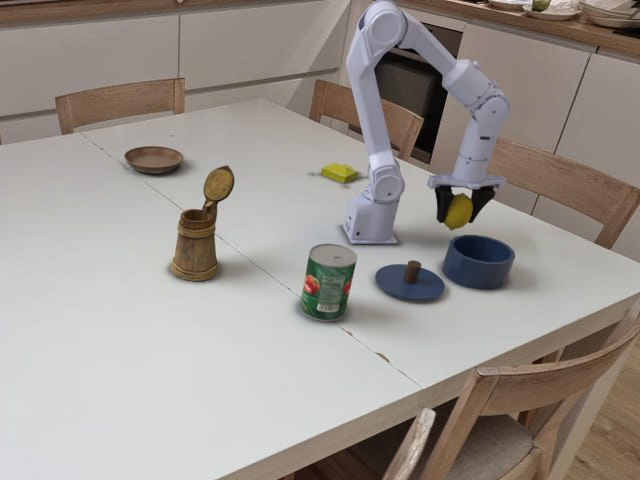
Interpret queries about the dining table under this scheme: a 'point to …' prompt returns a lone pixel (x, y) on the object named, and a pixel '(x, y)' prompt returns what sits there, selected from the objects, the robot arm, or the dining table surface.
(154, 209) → the dining table surface
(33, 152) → the dining table surface
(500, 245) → the pot
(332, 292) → the canned tomato
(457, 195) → the lemon
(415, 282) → the pot lid
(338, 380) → the dining table surface
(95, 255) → the dining table surface
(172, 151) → the saucer
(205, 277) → the wooden mug
